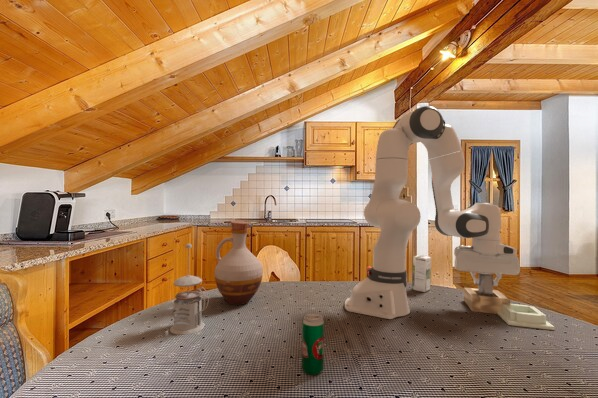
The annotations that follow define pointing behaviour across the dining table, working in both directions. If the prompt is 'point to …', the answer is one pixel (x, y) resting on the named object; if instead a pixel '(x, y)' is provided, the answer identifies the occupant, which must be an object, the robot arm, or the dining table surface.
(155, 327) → the dining table surface
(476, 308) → the bored block
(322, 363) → the soda can
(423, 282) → the syrup box
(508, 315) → the holder
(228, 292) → the jug
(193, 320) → the french press
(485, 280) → the axle
